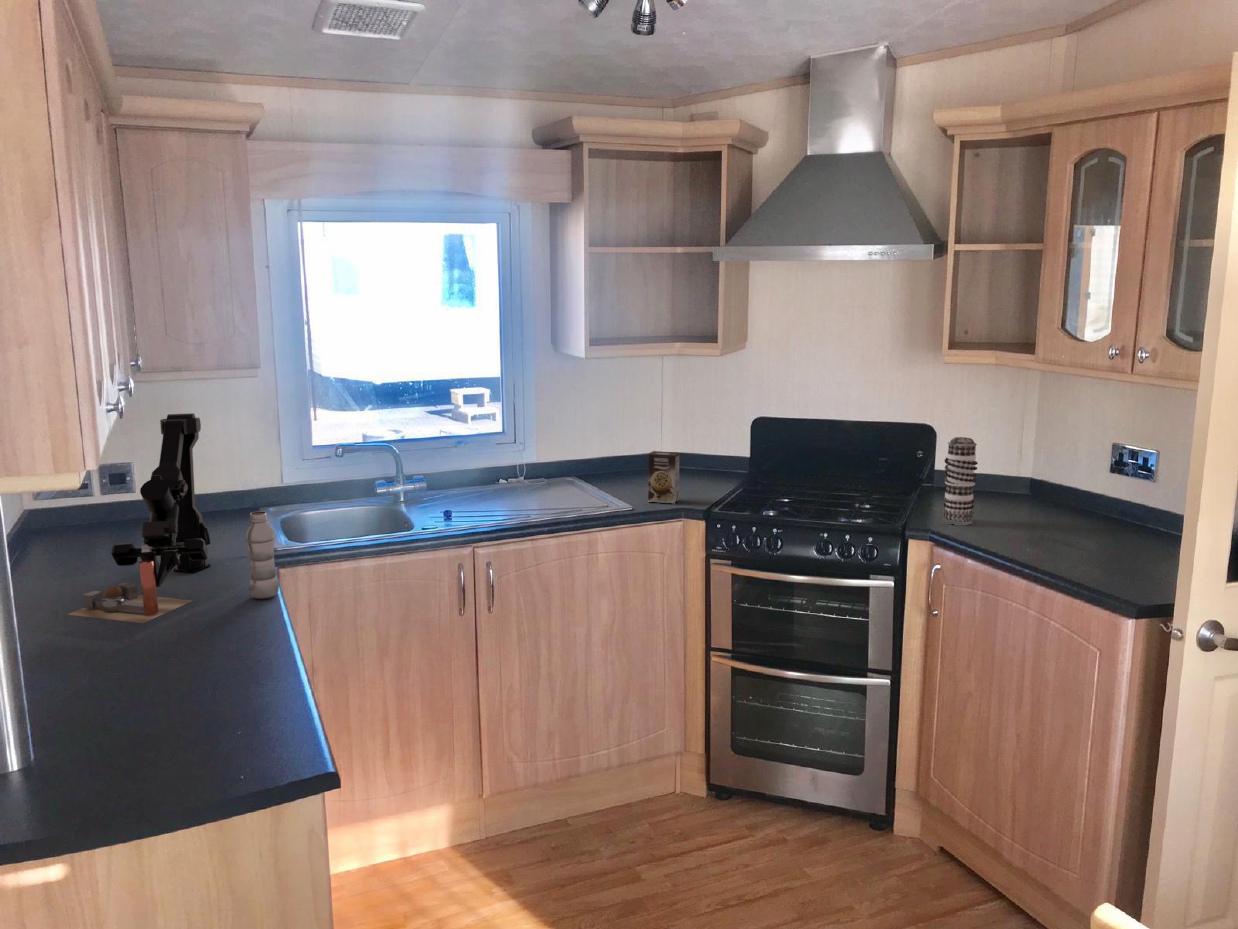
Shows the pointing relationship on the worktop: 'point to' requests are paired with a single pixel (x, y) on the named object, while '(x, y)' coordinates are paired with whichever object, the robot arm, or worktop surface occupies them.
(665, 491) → the cookie box
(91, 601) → the lever
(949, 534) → the worktop surface
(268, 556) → the plastic bottle
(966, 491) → the decorative candle
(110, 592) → the walnut
